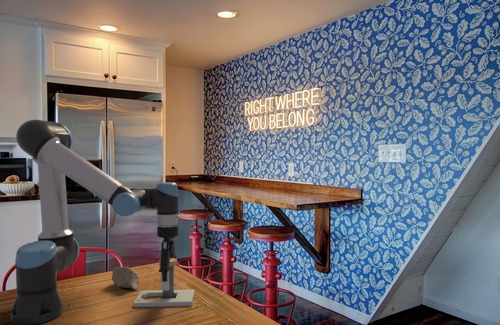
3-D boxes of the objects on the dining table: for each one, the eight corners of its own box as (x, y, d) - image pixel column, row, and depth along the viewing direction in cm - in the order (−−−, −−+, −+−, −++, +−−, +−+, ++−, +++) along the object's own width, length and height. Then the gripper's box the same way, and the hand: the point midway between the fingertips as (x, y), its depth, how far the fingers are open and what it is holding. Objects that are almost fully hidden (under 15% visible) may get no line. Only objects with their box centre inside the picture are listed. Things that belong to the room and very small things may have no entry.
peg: (157, 303, 139) (157, 262, 139) (160, 296, 146) (160, 258, 145) (176, 303, 140) (175, 262, 139) (178, 296, 146) (178, 257, 146)
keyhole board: (133, 307, 136) (133, 302, 136) (141, 294, 148) (141, 290, 148) (191, 305, 137) (191, 301, 137) (194, 293, 149) (194, 289, 149)
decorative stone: (129, 292, 150) (129, 271, 150) (109, 284, 159) (108, 264, 159) (147, 287, 157) (147, 266, 156) (126, 279, 166) (126, 260, 166)
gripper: (173, 232, 130) (173, 295, 130) (182, 219, 155) (182, 272, 155) (150, 232, 129) (151, 296, 130) (162, 219, 154) (163, 273, 155)
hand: (168, 283), depth 143 cm, fingers open, 13 cm apart
